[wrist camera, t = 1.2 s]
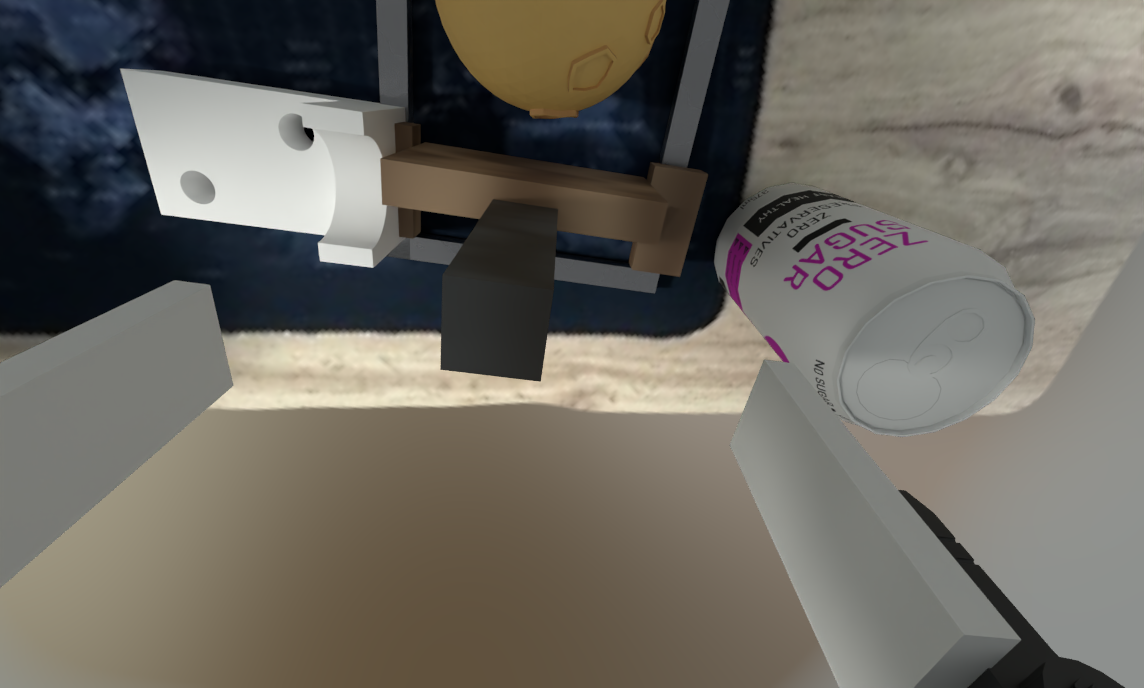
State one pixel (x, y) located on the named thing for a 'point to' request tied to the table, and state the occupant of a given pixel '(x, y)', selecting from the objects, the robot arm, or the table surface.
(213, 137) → the bracket
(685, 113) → the rails
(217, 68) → the table surface
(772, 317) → the supplement can
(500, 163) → the carriage
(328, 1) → the table surface
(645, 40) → the stress ball
